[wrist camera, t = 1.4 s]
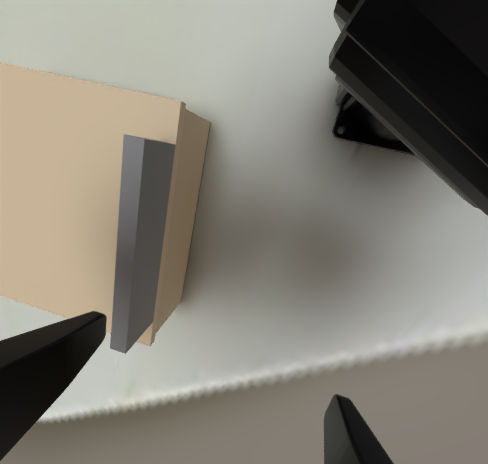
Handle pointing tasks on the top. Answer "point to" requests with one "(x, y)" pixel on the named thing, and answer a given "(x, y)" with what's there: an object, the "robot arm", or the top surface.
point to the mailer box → (183, 212)
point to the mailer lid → (86, 198)
